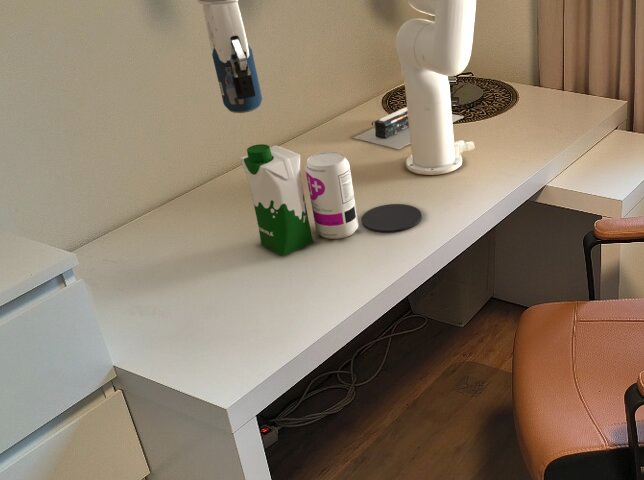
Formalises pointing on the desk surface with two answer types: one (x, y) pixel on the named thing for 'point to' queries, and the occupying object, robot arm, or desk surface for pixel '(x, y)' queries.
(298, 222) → the soya milk
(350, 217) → the supplement can
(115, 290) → the desk surface
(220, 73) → the soda can
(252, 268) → the desk surface
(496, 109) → the desk surface
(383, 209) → the coaster
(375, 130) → the white tray with gadget
